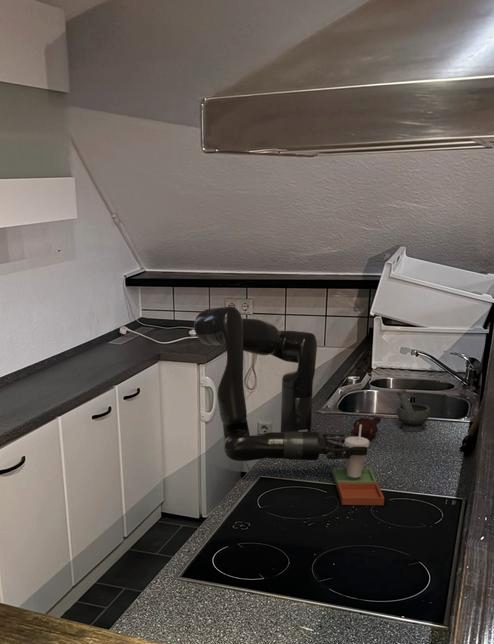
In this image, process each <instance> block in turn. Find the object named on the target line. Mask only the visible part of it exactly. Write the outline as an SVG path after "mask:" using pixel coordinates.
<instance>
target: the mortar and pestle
mask: <svg viewBox="0 0 494 644" xmlns="http://www.w3.org/2000/svg"><path fill="white" fill-rule="evenodd" d="M396 394H397V396H398V397H399V401H400V404H399V405H398V406H397V408H396V411H397V417H398V420H399V421H400V423H402V425H401V429H402V430H403V431H407V432H421V431H422V430H423V424H425V423H426V421H428V419H429V417H430V413H431V407H429V406H427V405H425V404H421V403H411V401H410V398H409V396H408V395H407V390H406V388H405V389H403V388H402V389H400V390H398V391H397V392H396Z"/></svg>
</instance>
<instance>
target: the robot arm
mask: <svg viewBox="0 0 494 644" xmlns="http://www.w3.org/2000/svg"><path fill="white" fill-rule="evenodd" d="M193 329H194V333H195V335H196V337H197V339H198V340H199V341H200V342H201V343H202V344H204V345H206V346H225V349H226V363H225V366H224V370H223V373H222V375H221V378H220V381H219V384H218V387H217V391H216V393H217V395H216V396H217V405H218V412H219V417H220V421H221V423H222V429H223V431H222V432H223V440H224V441H223V442H224V443H223V444H224V445H223V448H224V450H223V451H224V453H225V455H226V457H228V458H229V459H230V460H232V461H237V462H249V461H258V460H263V459H270V460H272V459H273V460H275V459H276V460H277V459H278V460H290V461H317V460H319V458H320V455H325V456H326V459H327V460H346V459H350V456H352V455H366V456H367V455H368V448H367V447H365V446H346V445H345V444H344V442H345V439H346V438H348V437H349V436H346V434H341V433H340V434H338V433H322V437H320V433H319V432H318V431H312V416H313V415H312V412H313V388H314V379H315V374H316V363H317V353H318V340H317V337H316V335H315V334H314V333H312V332H308V331H299V330H280V329H278V328H277V327H276V325H274V324H273V323H271V322H268V321H265V320H262V319H258V318H243V317H242V314H241V313H240V311H239V309H238V308H237V307H234V306H221V307H211V308H207V309H204V310H201V311H200V312H199V313H198V314H197V316H195V319H194V324H193ZM244 352H246V353H249V354H255V355H258V356H273V357H275V358H277V359H279V360H282V361H284V362H288V363H296V364H297V368H296V370H295V371H291V372H287V373H285V374H283V375H282V377H281V406H280V407H281V410H280V413H281V414H280V431H267V432H263V433H262V434H259V435H258V434H257V435H256V434H254V435H250V429H249V424H248V419H247V418H248V417H247V416H248V414H247V404H246V398H245V389H244Z"/></svg>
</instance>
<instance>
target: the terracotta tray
mask: <svg viewBox="0 0 494 644" xmlns="http://www.w3.org/2000/svg"><path fill="white" fill-rule="evenodd" d="M380 487H381V486H380V485H379V483H378V482H377V483H337V488H336V491H337V494H338V497H339V500H340V504H341V506H384V505H385V496H384V493H383V492H382V490H381V488H380Z"/></svg>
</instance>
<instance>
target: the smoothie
mask: <svg viewBox="0 0 494 644" xmlns="http://www.w3.org/2000/svg"><path fill="white" fill-rule="evenodd" d="M361 429H362V425H361V424H360V427H359V437H358V436H347V437H348V438H346V439H345V442H344V444H345V445H346V446H365V447H367V449H368V447H369V446H370V439H369V440H368V439H366V438H363V437H361ZM366 456H367V455H352V456H350V459H345V462H346V464H345V465H346V467H345V468H347V475H348V476H350V477H360V476H361V473H362V469H363V468H364V464H365V460H366Z"/></svg>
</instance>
